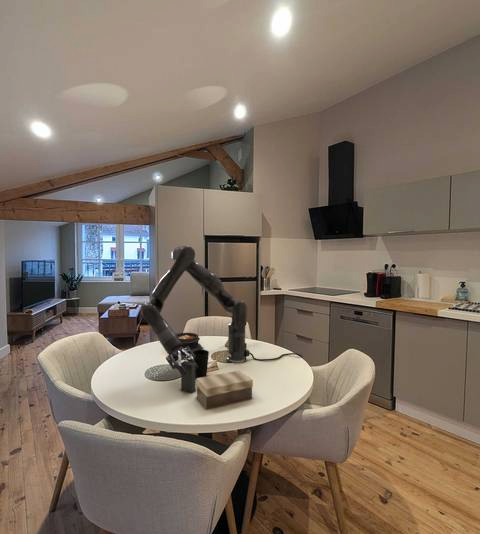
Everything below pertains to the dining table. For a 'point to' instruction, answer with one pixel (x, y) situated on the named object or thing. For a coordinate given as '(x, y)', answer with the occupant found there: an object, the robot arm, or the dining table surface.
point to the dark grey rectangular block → (188, 377)
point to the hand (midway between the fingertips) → (190, 371)
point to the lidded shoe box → (224, 389)
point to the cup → (201, 363)
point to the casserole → (190, 341)
